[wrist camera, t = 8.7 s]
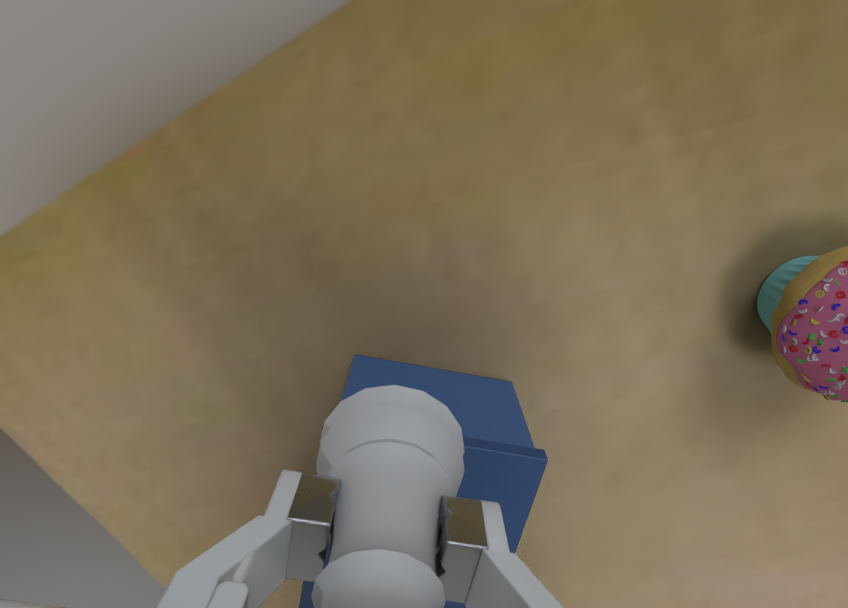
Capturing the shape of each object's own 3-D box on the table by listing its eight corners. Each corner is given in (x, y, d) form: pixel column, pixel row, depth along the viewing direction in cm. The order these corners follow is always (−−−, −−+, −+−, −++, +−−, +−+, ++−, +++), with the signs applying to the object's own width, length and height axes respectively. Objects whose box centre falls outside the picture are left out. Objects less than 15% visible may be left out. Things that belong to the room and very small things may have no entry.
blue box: (471, 530, 35) (485, 638, 28) (324, 507, 34) (298, 613, 27) (518, 378, 30) (548, 459, 23) (350, 348, 30) (327, 423, 22)
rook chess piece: (302, 465, 16) (194, 777, 8) (354, 354, 14) (282, 609, 7) (426, 511, 16) (429, 838, 9) (488, 409, 15) (555, 697, 8)
